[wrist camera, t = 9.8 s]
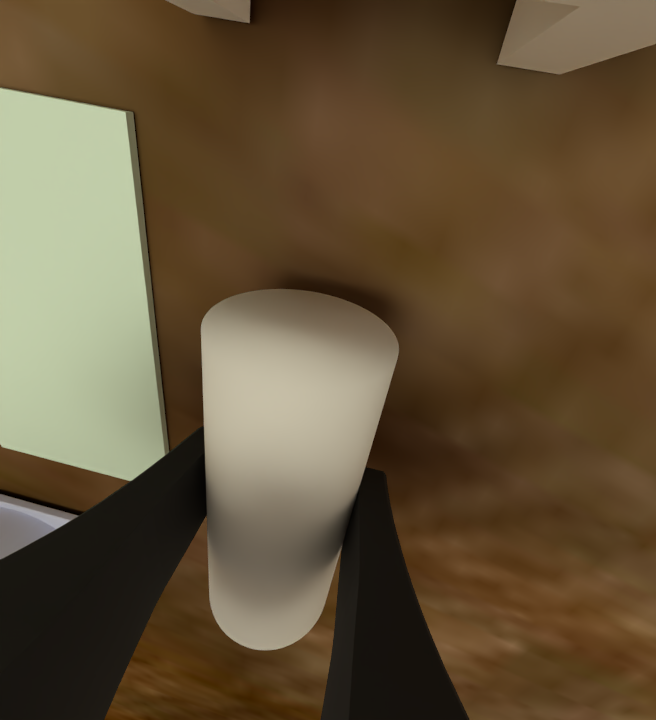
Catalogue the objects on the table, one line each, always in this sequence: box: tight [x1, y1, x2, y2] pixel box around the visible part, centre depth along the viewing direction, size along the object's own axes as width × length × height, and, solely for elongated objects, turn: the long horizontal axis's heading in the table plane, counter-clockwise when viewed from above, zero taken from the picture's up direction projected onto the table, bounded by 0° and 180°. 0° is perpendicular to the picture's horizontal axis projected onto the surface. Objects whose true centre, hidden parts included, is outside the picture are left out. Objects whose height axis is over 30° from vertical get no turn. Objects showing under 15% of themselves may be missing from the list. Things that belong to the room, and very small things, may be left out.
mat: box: [0, 87, 169, 481], centre depth 13 cm, size 14×8×1 cm, turn 171°
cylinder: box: [201, 289, 399, 650], centre depth 11 cm, size 10×4×4 cm, turn 171°
